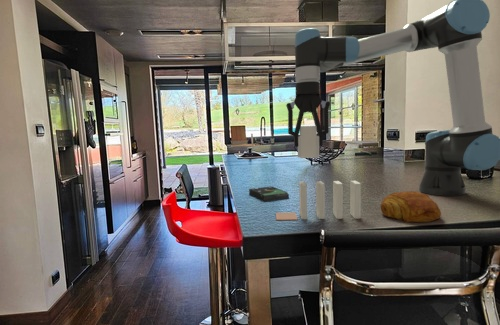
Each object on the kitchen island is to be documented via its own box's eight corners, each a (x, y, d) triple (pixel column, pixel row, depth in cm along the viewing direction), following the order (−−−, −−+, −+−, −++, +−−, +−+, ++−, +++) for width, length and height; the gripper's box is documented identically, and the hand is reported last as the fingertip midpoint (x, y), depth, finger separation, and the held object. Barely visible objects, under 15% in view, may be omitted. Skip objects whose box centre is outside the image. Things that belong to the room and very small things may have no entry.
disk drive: (248, 195, 125) (264, 202, 112) (248, 188, 125) (264, 195, 112) (271, 192, 130) (289, 199, 116) (271, 186, 129) (289, 191, 116)
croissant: (374, 217, 96) (370, 192, 95) (422, 208, 96) (419, 183, 96) (399, 231, 81) (395, 202, 81) (456, 220, 82) (452, 191, 81)
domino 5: (355, 213, 93) (355, 180, 92) (360, 218, 88) (360, 183, 87) (350, 213, 93) (350, 180, 92) (354, 218, 88) (355, 183, 87)
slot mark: (295, 213, 95) (295, 212, 95) (297, 220, 88) (297, 219, 88) (275, 213, 95) (275, 212, 95) (276, 220, 88) (276, 219, 88)
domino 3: (321, 214, 93) (321, 181, 92) (324, 218, 88) (324, 184, 87) (316, 214, 93) (316, 181, 92) (319, 219, 88) (318, 184, 87)
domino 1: (305, 214, 94) (304, 181, 93) (307, 219, 89) (306, 184, 88) (299, 214, 94) (299, 181, 93) (301, 219, 89) (301, 184, 88)
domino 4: (338, 213, 93) (338, 180, 92) (342, 218, 88) (342, 183, 87) (333, 214, 93) (333, 181, 92) (336, 218, 88) (336, 184, 87)
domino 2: (315, 157, 100) (315, 125, 99) (316, 157, 98) (316, 125, 97) (300, 157, 100) (299, 126, 99) (300, 158, 98) (300, 126, 97)
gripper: (334, 83, 100) (334, 155, 102) (277, 85, 101) (279, 156, 103) (339, 79, 92) (339, 157, 95) (279, 81, 93) (280, 158, 96)
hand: (308, 156), depth 99 cm, fingers closed on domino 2, 5 cm apart
